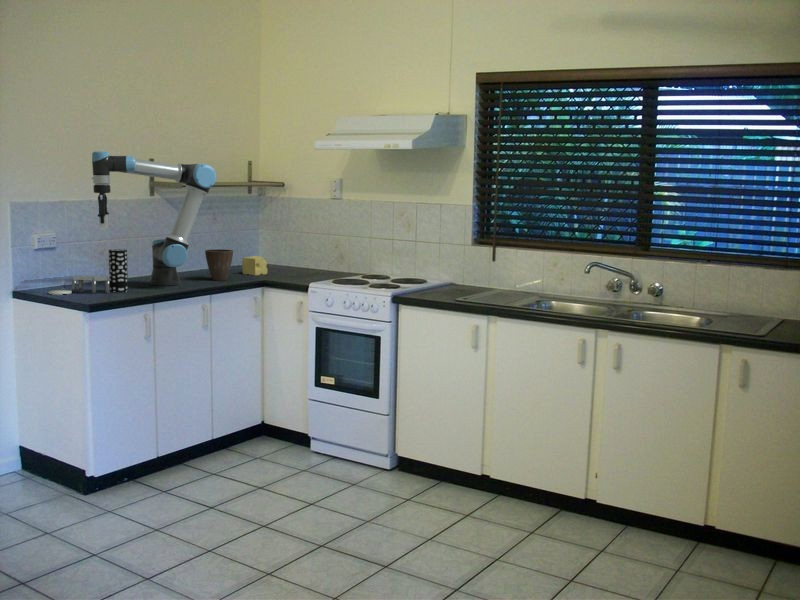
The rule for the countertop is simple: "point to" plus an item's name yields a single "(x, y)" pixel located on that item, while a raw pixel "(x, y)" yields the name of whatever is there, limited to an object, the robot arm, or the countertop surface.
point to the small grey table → (93, 279)
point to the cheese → (254, 265)
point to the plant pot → (219, 263)
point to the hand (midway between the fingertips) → (104, 229)
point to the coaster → (60, 292)
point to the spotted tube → (118, 270)
